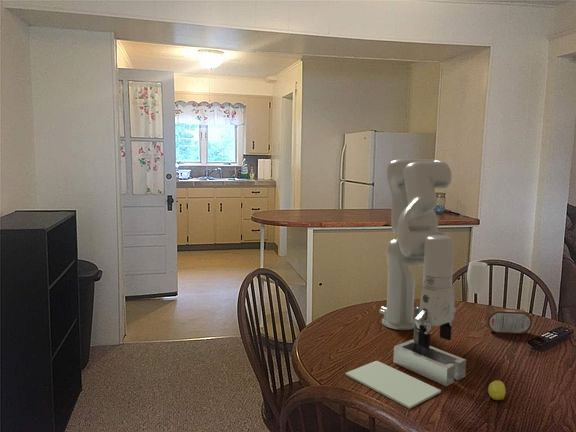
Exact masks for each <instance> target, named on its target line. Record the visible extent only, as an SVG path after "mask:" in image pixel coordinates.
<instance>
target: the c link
mask: <svg viewBox="0 0 576 432" xmlns="http://www.w3.org/2000/svg"><path fill="white" fill-rule="evenodd" d="M413 341H414V338H413V339H410V340H406V341H405V342H402V343H399V344H396V345H394V346H393V361H392V362H393V363H394V364H396V365H398V366H400V367H403V368H405V369H407V370H409V371H410V372H411V371H412V372H413V373H416V374H418V375H420V376H423V377H425V378H427V379H429V380H432V381H434V382H435V383H438V384H440V385H443V386H445V387H449V386H450V385H452V384H454V383H455V380H457V381H459V380H462V379H463V378H466V371H467V359H466V358H463V357H460V356H457V355H455V354H452V353H450V352H447V351H444V350H442V349H439V348H437V347H434V346H431V345H430V347H429V348H428V349H427V348H424V347H422V351H421V355H420V354H418V353H415V352H413Z"/></svg>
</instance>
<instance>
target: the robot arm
mask: <svg viewBox="0 0 576 432" xmlns="http://www.w3.org/2000/svg"><path fill="white" fill-rule="evenodd" d="M386 179H387V183H388V186H389V190H390V193H391V210H390V213H391V214H390V216H391V220H390V223H391V224H390V225H391V230H392V232H393V233H394V234H396V235H397V238H394V239H393V238H392V239H391V240H389V241H388V242H387V244H386V249H385V250H386V260H387V288H386V289H387V291H386V307H385V306H381V307H380V309H379V313H380V314H383V317H382V319H381V323H382V325H383V326H384V327H386V328H389V329H393V330H398V331H410V330H414V321H415V324H416V328H417V331H418V332H419V338H418V345H419V346H421V347H424V348H427V349H428V348H429V347H430V346H431V345H430V344H431V343H430V342H431V341H430V340H431V333H429V332H430V330H431V328H432V327H434V328H436V327H439V337H440V339H444V340H447V341H451V340H452V326H453V324H454V322H453V320H454V319H455V313H456V312H457V311H456V310H457V307H455V292H454V286H453V269H454V253H455V252H454V251H455V249H454V248H455V242H454V239H453V238H452V237H450V235H449V234H448V233H447V232H446V231H439V220H438V216H437V213H436V211H435V210H434V209H436V207H437V205H438V199H437V193H436V189H447V188H449V186H450V184H451V182H452V171H451V168H450V166H449V164H448V163H447V162H445V161H442V160H439V159H436V158H435V159H433V158H431V159H429V158H426V159H425V158H421V159H420V158H399V159H394V160H392V161H390V162H389V163H388V164H387V167H386ZM409 266H423V272H422V289H421V294H420V295H421V296H420V302H419V307H420V310H419V315H418V316H417V317H416V318H415V317H414V313H413V311H414V309H415V307H414V306H415V292H416V291H415V288H416V277H415V275H414V272H412V270H411V269H410V268H409ZM425 326H426V327H425Z"/></svg>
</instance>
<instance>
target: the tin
mask: <svg viewBox="0 0 576 432" xmlns="http://www.w3.org/2000/svg"><path fill="white" fill-rule="evenodd" d="M484 322H485V325H486V326H487V327H488V329H490V331H491V332H493V333H496V334H508V335H509V334H510V335H523V334H526V333H528V332H529V331H530V329H531V328H532V325H533V320H532V317H531V316H530V315H529V313H528V312H527V311H525V310H523V309H521V308H519V309H517V308H516V309H515V308H497V307H496V308H493V309H491V310H489V311H488V312H487V314H486V315H485V320H484Z"/></svg>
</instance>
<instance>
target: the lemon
mask: <svg viewBox="0 0 576 432" xmlns="http://www.w3.org/2000/svg"><path fill="white" fill-rule="evenodd" d="M487 392H488V395H489V396H490V397H491V398H492V400H495V401H501V400H504V399H505V396H506V394H507V392H506V385H505V383H504V382H503V381H501V380H493V381H492V382H491V383H489V385H488V389H487Z"/></svg>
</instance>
